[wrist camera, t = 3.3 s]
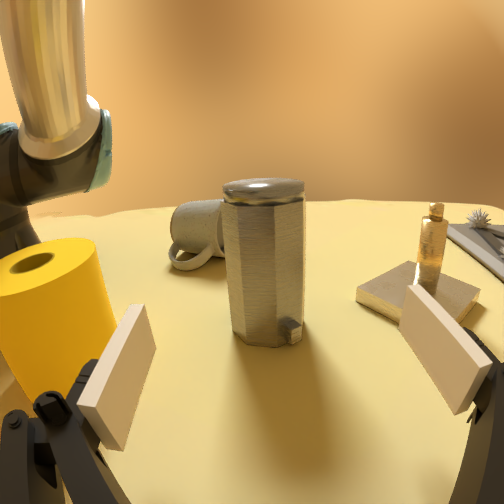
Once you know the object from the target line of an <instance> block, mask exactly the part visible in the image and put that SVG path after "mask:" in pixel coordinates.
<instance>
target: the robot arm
mask: <svg viewBox="0 0 504 504" xmlns="http://www.w3.org/2000/svg"><path fill="white" fill-rule="evenodd" d="M84 7H85V0H0V35H1V40H2V46H3V51H4V55H5V60H6V63H7V68H8V72H9V76H10V80H11V83H12V87H13V90H14V94H15V97H16V101H17V104H18V107H19V110H20V113H21V116H22V119H23V120H22V123H21V125H20V128H19V129H18V127H17V124H16V123H14V122H7V123H2V124H0V259H2V258H4V257H6V256H8V255H10V254H12V253H14V252H17V251H19V250H22V249H24V248H27V247H30V246H33V245H36V244H39V243H41V241H40V239H39V238H38V236H37V234H36V232H35V231H34V229H33V227H32V225H31V223H30V220H29V216H28V211H27V206H28V205H32V204H35V203H39V202H43V201H47V200H51V199H55V198H59V197H63V196H68V195H72V194H77V193H82V192H84V193H86V192H89V191H90V190H93V189H96V188H100V187H103V186H105V185H106V184H107V183H108V181H109V178H110V175H111V166H112V152H111V149H112V126H111V117H110V113H109V112H108V111H107V110H102V109H99V106H98V104H97V102H96V101H95V100H94V99H93V98H92V97H90V96H89V95H87V89H86V74H85V54H84ZM398 330H399V332H400V333H401V334H402V336H403V337H404V339H405V340H406V342H407V343H408V345H409V346H410V347H411V349H412V350H413V352H414V353H415V355H416V356H417V358H418V359H419V361H420V362H421V364H422V365H423V367H424V368H425V370H426V371H427V373H428V374H429V376H430V378H431V379H432V381H433V382H434V384H435V385H436V387H437V388H438V390H439V392H440V393H441V395H442V396H443V398H444V400H445V401H446V403H447V404H448V406H449V408H450V409H451V411H452V413H453V414H454V416H455V415H457V414H460V413H462V412H464V411H467V410H468V408H469V407H470V405H471V403H472V401H474V403H475V404H476V407H475V409H474V410H473V412H472V413H471V415H470V417H469V418H468V420H467V422H466V423H469V421H470V420H471V419H472V421H471V426H470V431H469V436H468V440H467V445H466V449H465V453H464V457H463V460H462V464H461V468H460V471H459V474H458V478H457V481H456V484H455V487H454V490H453V493H452V496H451V499H450V501H449V504H504V363H501V362H500V361H499V360H498V359H497V358H496V357H495V356H494V354H493V353H492V352H491V351H490V350H489V349H488V348H487V347H486V346H484V343H483V342H482V341H481V340H479V338H478V337H477V336H476V335H475V334H474V333H473V332H472V331H470V330H469V329H467V328H465V327H463V328H462V327H461V326H460V325H459V324H458V323H457V322H456V321H455V320H454V319H453V318H452V317H451V316H450V315H449V314H448V313H447V312H446V311H445V310H444V309H443V307H442V306H441V305H440V304H439V303H438V302H437V301H436V300H435V299H434V298H433V297H432V296H431V295H430V294H429V293H428V292H427V291H426V290H425V289H424V288H423V287H422V286H420V285H419V284H416V285H408V286H407V289H406V294H405V300H404V304H403V309H402V314H401V318H400V323H399V327H398ZM155 351H156V345H155V342H154V338H153V335H152V331H151V327H150V324H149V320H148V316H147V312H146V308H145V304H130V306H129V307H128V309H127V311H126V313H125V314H124V316H123V318H122V319H121V321H120V323H119V325H118V326H117V328H116V330H115V332H114V333H113V335H112V337H111V339H110V341H109V342H108V344H107V346H106V348H105V350H104V352H103V353H102V355H101V357H100V359H91V360H89V361H88V362H87V363H86V364H85V365H84V366H83V367H82V369H81V371H80V373H79V376H77V378H76V380H75V383H73V385H72V387H71V389H70V391H69V393H68V395H67V397H66V398H65V399H64V397H63V396H62V395H61V393H59V392H57V391H47V392H44V393H42V394H40V395H39V396H38V397H37V398H36V399H35V401H34V404H33V410H34V411H35V413H36V414H37V416H38V417H39V418H29V417H28V416H27V414H26V413H25V412H24V411H22V410H13V411H11V412H9V413H8V414H7V415H6V416H5V417H4V419H3V423H2V431H1V441H0V504H66V503H65V498H64V491H63V485H62V479H63V481H64V484H65V486H66V488H67V491H68V493H69V495H70V497H71V500H72V502H73V504H131V503H130V501H129V500H128V498H127V497H126V495H125V493H124V492H123V490H122V489H121V487H120V485H119V484H118V482H117V480H116V479H115V477H114V475H113V474H112V472H111V470H110V468H109V467H108V465H107V463H106V461H105V459H104V457H103V456H102V454H101V452H100V450H99V449H98V446H99V443H100V441H101V442H102V444H103V445H104V446H105V448H106V449H111V450H117V451H124V448H125V444H126V441H127V437H128V434H129V431H130V427H131V424H132V421H133V417H134V414H135V411H136V408H137V405H138V402H139V398H140V395H141V392H142V389H143V386H144V383H145V380H146V377H147V374H148V371H149V368H150V365H151V362H152V359H153V357H154V354H155ZM61 476H62V478H61Z"/></svg>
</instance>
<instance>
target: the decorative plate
mask: <svg viewBox="0 0 504 504" xmlns="http://www.w3.org/2000/svg"><path fill="white" fill-rule="evenodd" d="M474 213H475V211H474ZM474 213H473V211H472V215H473V217H472V216H470V215H469V214H468V215H469V216H470V217H471V218H470V217H469V218H467V219H468V220H470V221H469V223H465V224H448V230H447V237H448V238H449V239H451V240H452V241H453V242H455V243H456V244H457V245H459V246H460V247H461V248H463V249H464V250H465V251H466V252H468V253H469V254H470V255H472V256H473V257H474V258H475V259H477V260H478V261H479V262H480V263H481V264H483V265H484V266H485V267H486V268H488V269H489V270H490V271H491V272H492V273H494V274H495V275H496V276H497V277H498V278H499V279H500V280H502V281H503V282H504V225H491V224H489V223H486V222H488V221H489V220H491V219H489V220H487V219H486V217H487V216H488V215H487V214H486V215H485V216H484V214H485V212H484V213H483V215H482V212H481V209H480V212H479V211H478V214H477V211H476V213H475V214H474ZM467 217H468V216H467Z"/></svg>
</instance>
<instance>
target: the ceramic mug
mask: <svg viewBox="0 0 504 504" xmlns="http://www.w3.org/2000/svg"><path fill="white" fill-rule="evenodd" d="M221 200H223V199H217V200H206V201H191V202H188V203H184V204H182V205H180V206H178V207H177V208H176V210H175V211H174V213H173V215H172V218H171V222H170V233H171V237H172V240H173V242H174V243H173V244H172V246H171V247H170V250H169V258H170V260H171V262H172V264H173V265H174V266H175V267H176V268H177V269H179V270H184V271H188V270H192V269H196V268H198V267H200V266H202V265H203V264H204V263H206V262H207V261H208V260H209V258H210V257H211V256H217V257H225V250H224V239H223V228H222V216H221V204H220V201H221ZM179 250H183V251H185V252H189V253H196V254H198V255H197V256H195V257H194V258H192V259H190V260H187V261H183V262H182V261H181V262H180V261H178V260H176V259H175V258H176V255H177V253H178V251H179Z"/></svg>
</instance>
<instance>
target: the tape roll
mask: <svg viewBox="0 0 504 504" xmlns="http://www.w3.org/2000/svg"><path fill="white" fill-rule="evenodd" d="M116 328H117V325H116V321H115V318H114V315H113V312H112V308H111V305H110V302H109V298H108V295H107V291H106V287H105V284H104V280H103V276H102V272H101V268H100V264H99V260H98V256H97V251H96V247H95V244H94V242H92V241H91V240H88V239H84V238H65V239H57V240H52V241H47V242H43V243H39V244H36V245H33V246H30V247H27V248H24V249H22V250H19V251H17V252H14V253H12V254H10V255H8V256H6V257H4V258H2V259H0V350H1V352H2V354H3V356H4V358H5V360H6V362H7V364H8V365H9V367H10V369H11V371H12V372H13V374H14V376H15V378H16V379H17V381H18V383H19V384H20V386H21V388H22V389H23V391H24V392H25V394H26V395H27V397H28V398H29V400H30V401H31V402H32V403H33V404H34V401H35V399H36V398H37V397H38V396H39V395H40V394H42V393H44V392H47V391H57V392H59V393H61V395H62V396H63V397H64V399H65V398H66V397H67V395H68V393H69V391H70V389H71V387H72V385H73V383H75V380H76V378H77V376H79V373H80V371H81V369H82V367H83V366H84V365H85V364H86V363H87V362H88V361H89V360H91V359H100V357H101V355H102V353H103V352H104V350H105V348H106V346H107V344H108V342H109V341H110V339H111V337H112V335H113V333H114V332H115V330H116Z"/></svg>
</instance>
